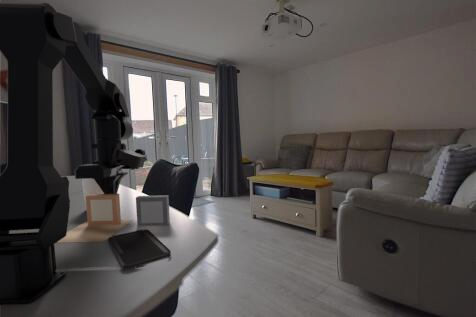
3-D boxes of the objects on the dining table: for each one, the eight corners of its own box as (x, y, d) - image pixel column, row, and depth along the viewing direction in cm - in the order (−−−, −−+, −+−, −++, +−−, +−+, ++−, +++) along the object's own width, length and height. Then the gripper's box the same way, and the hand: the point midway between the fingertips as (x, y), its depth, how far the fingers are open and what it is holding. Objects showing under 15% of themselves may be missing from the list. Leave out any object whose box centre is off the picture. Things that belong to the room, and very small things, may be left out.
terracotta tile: (117, 224, 58) (115, 195, 57) (87, 225, 58) (85, 195, 57) (121, 222, 59) (119, 193, 59) (91, 223, 59) (89, 194, 59)
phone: (146, 228, 54) (172, 252, 42) (147, 233, 54) (173, 259, 42) (106, 237, 49) (122, 267, 37) (106, 243, 49) (122, 274, 37)
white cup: (120, 206, 76) (118, 173, 75) (103, 213, 68) (101, 177, 67) (96, 206, 77) (94, 174, 76) (77, 213, 69) (74, 178, 68)
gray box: (167, 226, 57) (166, 196, 56) (137, 227, 57) (135, 197, 56) (169, 224, 58) (168, 195, 58) (140, 225, 58) (138, 195, 58)
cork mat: (103, 243, 48) (103, 241, 48) (47, 244, 48) (47, 242, 48) (132, 221, 61) (132, 219, 61) (87, 222, 61) (87, 220, 61)
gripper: (123, 138, 52) (127, 211, 53) (153, 139, 70) (156, 193, 72) (70, 139, 52) (75, 212, 53) (114, 140, 70) (118, 194, 72)
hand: (112, 201), depth 62 cm, fingers closed
